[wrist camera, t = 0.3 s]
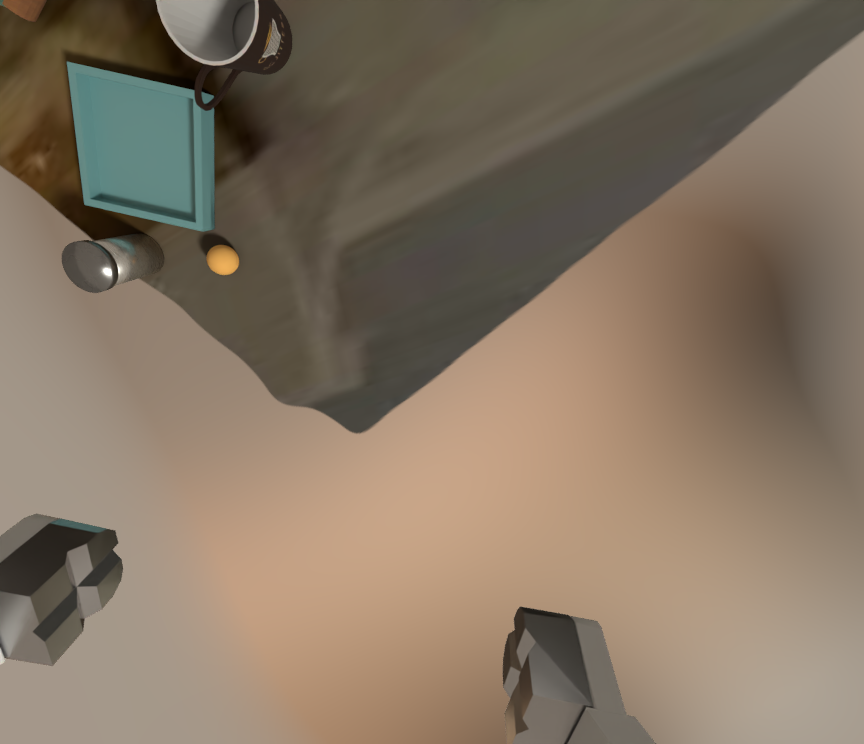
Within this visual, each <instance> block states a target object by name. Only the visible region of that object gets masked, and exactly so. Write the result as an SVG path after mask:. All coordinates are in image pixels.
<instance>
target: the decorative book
mask: <svg viewBox="0 0 864 744" xmlns="http://www.w3.org/2000/svg"><path fill="white" fill-rule="evenodd" d="M46 1H47V0H0V5H2V6H4V7H7V8H8V9H9V10H11V11H12V12H14V13H15V14H17V15H18V16H20V17H22V18H24V19H26V20H29V21H32V22H35V21H36V20H37V18H38V16H39V15H40V13H41V11H42V9H43V7H44V5H45V3H46Z"/></svg>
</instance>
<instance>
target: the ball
mask: <svg viewBox="0 0 864 744" xmlns="http://www.w3.org/2000/svg"><path fill="white" fill-rule="evenodd" d="M207 263H208V265H209V267H210V268H211V269H212V270H213V271H214V272H216V273H218V274H221V275H228V274H231V273H233V272H234V271H235V270H236V269H237V268H238V265H239V258H238V255H237V253H236V252H235V251H234V250H233V249H232V248H231V247H229V246H226V245H216V246H214V247H212V248H211V249H210V250H209V252H208V254H207Z"/></svg>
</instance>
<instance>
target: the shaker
mask: <svg viewBox="0 0 864 744" xmlns="http://www.w3.org/2000/svg"><path fill="white" fill-rule="evenodd" d="M62 264H63V268H64V270H65V272H66V274H67V276H68V277H69V279H70V280H71V281H72V282H73V283H74V284H75V285H77V286H78V287H79V288H81V289H83V290H85V291H88V292H92V293H98V292H102V291H105V290H108V289H111V288H112V287H113V286H115V285H118V284H121V283H125V282H128V281H132V280H135V279H138V278H141V277H145V276H148V275H151V274H155V273H157V272H159V271H160V270H161V268H162V267H163V264H164V255H163V251H162V249H161V247H160V246H159V244H158V243H157V242H156V241H155V240H154V239H153V238H151V237H150V236H148V235H146V234H141V233H137V234H131V235H125V236H119V237H113V238H107V239H101V240H95V241H89V240H84V241H77V242H73V243H70V244H69V245H67V246H66V247H65V249H64V251H63V253H62Z"/></svg>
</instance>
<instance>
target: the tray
mask: <svg viewBox="0 0 864 744" xmlns="http://www.w3.org/2000/svg"><path fill="white" fill-rule="evenodd" d="M67 68H68V76H69V84H70V92H71V100H72V108H73V117H74V125H75V133H76V141H77V149H78V157H79V166H80V174H81V182H82V190H83V198H84V205H87V206H92V207H96V208H101V209H105V210H110V211H114V212H119V213H123V214H127V215H132V216H136V217H141V218H145V219H150V220H154V221H158V222H163V223H167V224H172V225H176V226H181V227H185V228H189V229H194V230H198V231H208V230H213V229H215V227H214V108H213V109H211V110H209V111H205V110H203V109H201V108H200V107H199V106H197V104H196V102H195V96H194V90H191V89H186V88H182V87H178V86H173V85H169V84H164V83H160V82H155V81H151V80H147V79H142V78H138V77H133V76H129V75H124V74H120V73H116V72H111V71H107V70H102V69H98V68H93V67H89V66H85V65H80V64H76V63H71V62H67ZM213 98H214V96H213V95H210V94H206V93H203V92H202V100H203V102H204V104H206V103H208V102H210V101H211V100H212V99H213Z"/></svg>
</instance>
